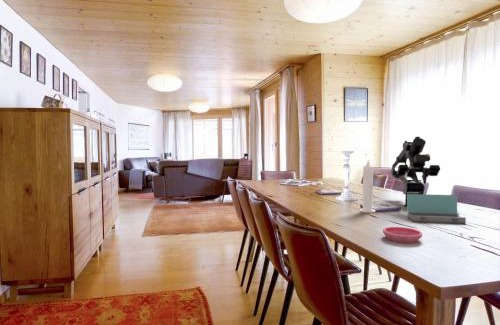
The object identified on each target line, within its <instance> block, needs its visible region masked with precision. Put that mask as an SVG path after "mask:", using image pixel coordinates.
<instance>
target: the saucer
mask: <svg viewBox="0 0 500 325" xmlns="http://www.w3.org/2000/svg"><path fill="white" fill-rule="evenodd" d="M382 233H383V234H384V236H385V237H386V239H387V240H389V241H392V242H394V241H395V242H396V243H402V244H414V243H417V242H418V240H420V239H421V238H422V237H423V232H421V230H418V229H414V228H409V227H404V226H388V227H387V226H386V227H384V228H382ZM395 242H394V243H395Z"/></svg>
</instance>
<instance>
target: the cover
mask: <svg viewBox="0 0 500 325" xmlns="http://www.w3.org/2000/svg"><path fill="white" fill-rule="evenodd" d="M406 210H407V213H408V212H419V213H450V214H458V198H457V194H425V193H423V194H407V206H406Z"/></svg>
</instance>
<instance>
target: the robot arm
mask: <svg viewBox="0 0 500 325" xmlns="http://www.w3.org/2000/svg"><path fill="white" fill-rule="evenodd" d="M425 145H426V140H425V139H424V138H421V136H415V137H414V138H413V140H404V142H403V143H402V150H401V152H400V153H399V154H398V156H396V157H395V161H394V162H393V164H392V166H391V173H390V174H391V176H392V177H393V179H394V178H395V179H399V180H400V181H401V182H402V183H403V184H404V185H403V186H404V187H403V188H402V194H404V195H405V199H404V202H405V204H403V206H404V207H407V194H424V191H425V185H426V184H427V178H429V177H437V176H438V175H439V173H440V170H441V166H440V164H430V165H429V166H428V167H426V162H430V160H431V155H430V154H429V153H425V154H421V153H422V152H423V151H424V148H425ZM407 161H408V162H409V163H408V164H409V165H408V164H407ZM401 163H402V164H401ZM417 173H422V175H421V178H422V179H420V178H419V177H418V175H417Z"/></svg>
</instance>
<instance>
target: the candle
mask: <svg viewBox="0 0 500 325" xmlns="http://www.w3.org/2000/svg"><path fill="white" fill-rule="evenodd" d="M373 188H374V166H372V165H371V164H370V160H369V159H368V160H367V163H366V164H364V166H363V170H362V208H359V212H361V213H365V214H367V213H368V214H374V213H376V210H375V209H373V199H374V198H373V197H374V195H373V194H374V189H373Z"/></svg>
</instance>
